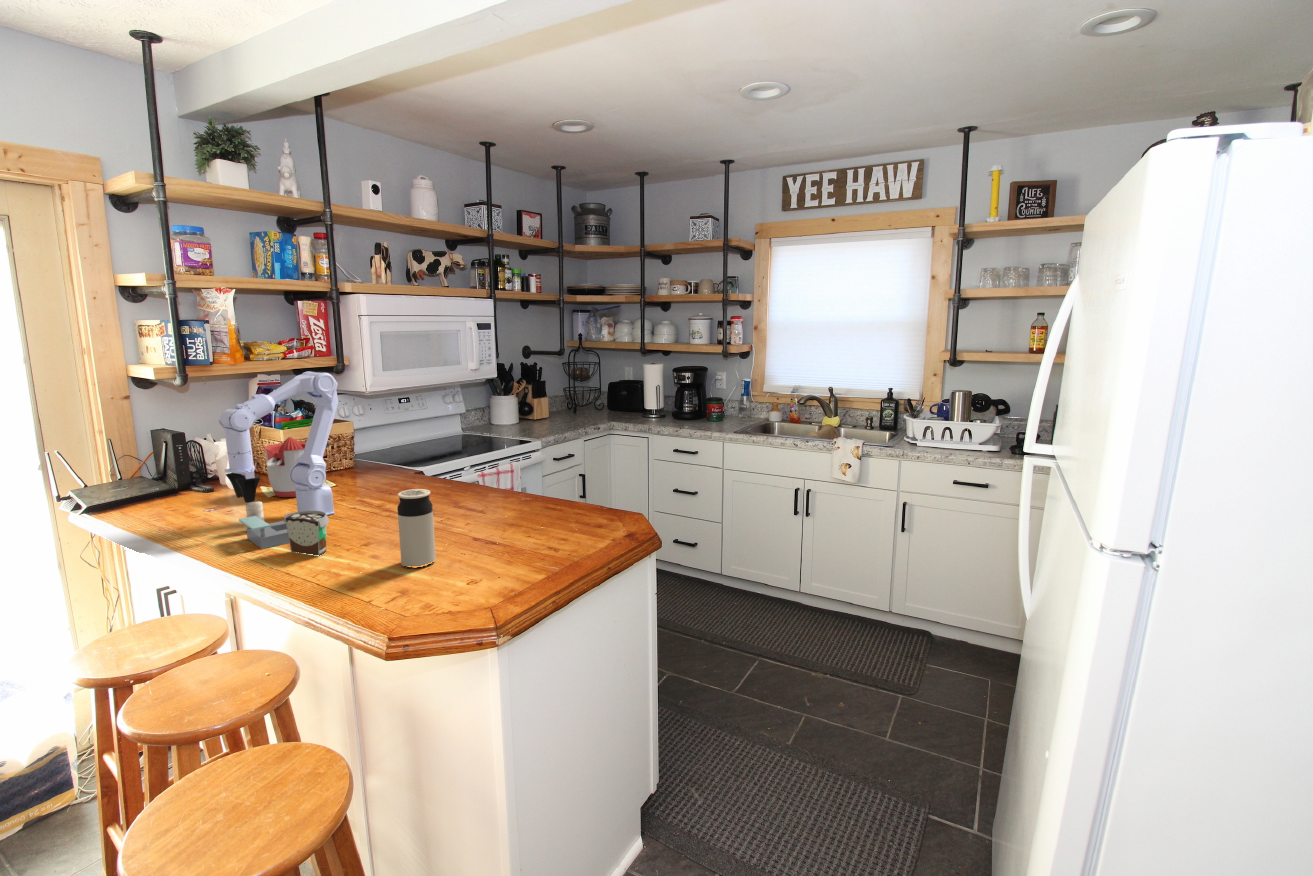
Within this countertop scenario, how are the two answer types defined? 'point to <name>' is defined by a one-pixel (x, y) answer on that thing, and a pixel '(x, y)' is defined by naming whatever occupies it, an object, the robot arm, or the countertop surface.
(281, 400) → the robot arm
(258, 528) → the socket block
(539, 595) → the countertop surface
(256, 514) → the peg
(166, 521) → the countertop surface
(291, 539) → the food container
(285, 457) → the citrus juicer
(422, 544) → the travel mug
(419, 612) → the countertop surface
